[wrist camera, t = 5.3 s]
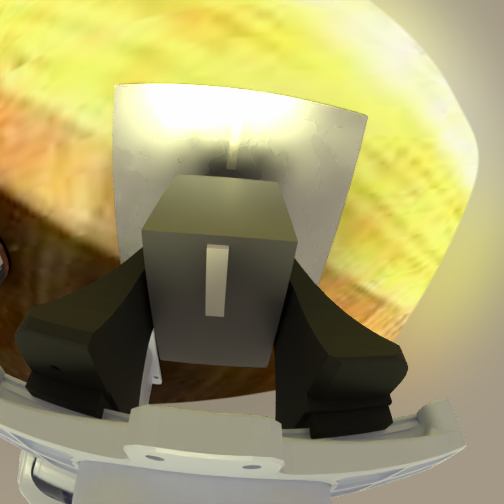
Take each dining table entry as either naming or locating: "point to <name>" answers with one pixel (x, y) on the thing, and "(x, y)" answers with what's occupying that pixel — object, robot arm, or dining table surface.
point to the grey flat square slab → (234, 155)
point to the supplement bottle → (3, 263)
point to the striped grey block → (218, 269)
